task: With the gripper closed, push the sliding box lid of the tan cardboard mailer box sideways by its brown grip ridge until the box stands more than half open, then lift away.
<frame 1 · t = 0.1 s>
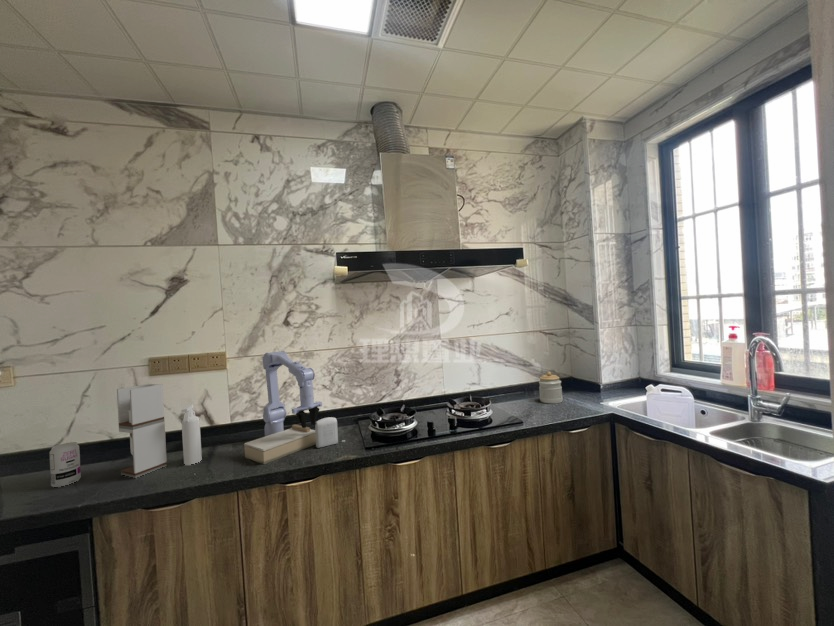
hand: (308, 425, 155), 10 cm above the worktop, tool pointing down, fingers open, 4 cm apart
mailer box: (282, 450, 156), on the worktop
white wood-trimmed shelf: (144, 471, 143), on the worktop
sliding box lid: (281, 435, 156), point 7 cm above the worktop, slide at 0.0 cm
jar: (551, 401, 207), on the worktop
supplement can: (66, 483, 136), on the worktop
fire extinguisher: (193, 462, 150), on the worktop
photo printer: (327, 445, 159), on the worktop, touching gripper
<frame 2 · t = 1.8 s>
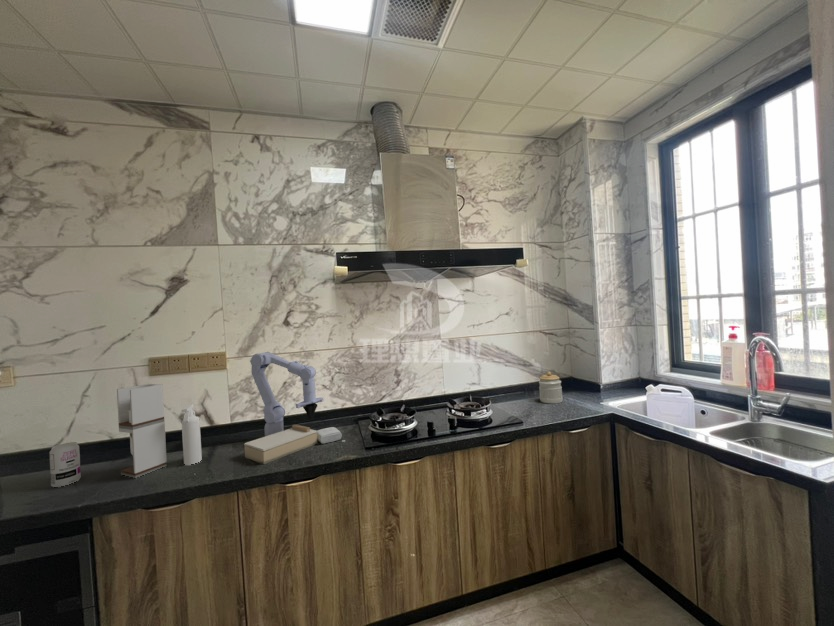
hand: (311, 419, 169), 9 cm above the worktop, tool pointing down, fingers closed
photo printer: (331, 437, 161), point 2 cm above the worktop
everything else where it was.
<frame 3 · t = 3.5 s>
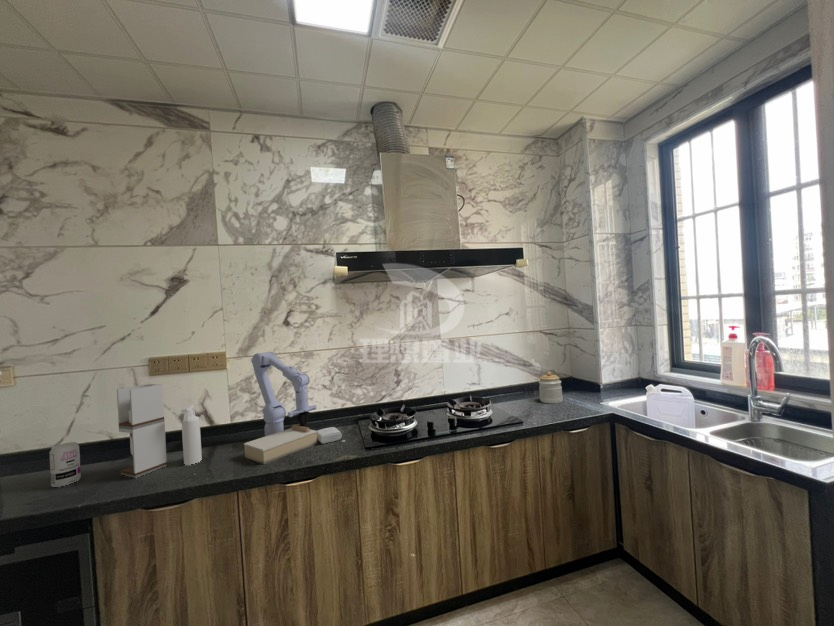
hand: (303, 428, 165), 7 cm above the worktop, tool pointing down, fingers closed
sliding box lid: (281, 435, 156), point 7 cm above the worktop, slide at 0.2 cm, touching gripper
everything else where it was.
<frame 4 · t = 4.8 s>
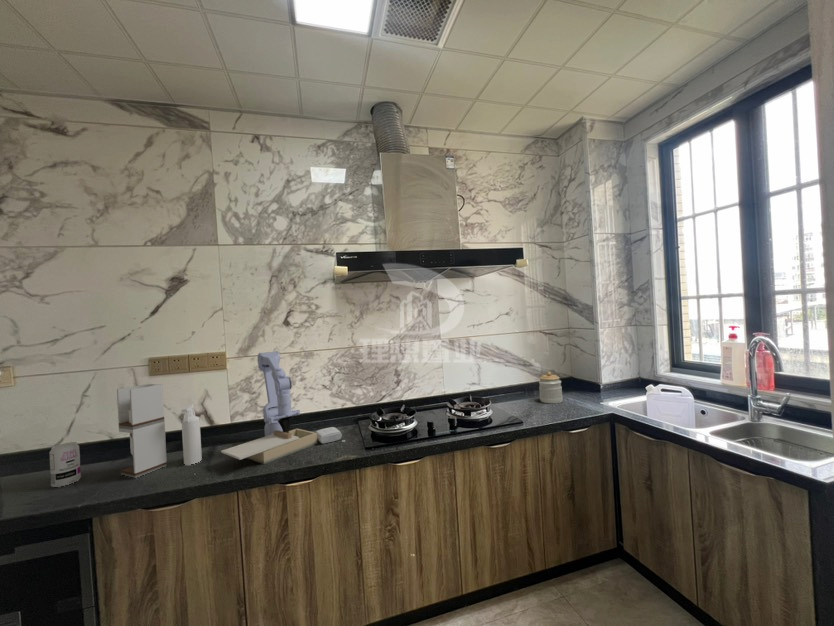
hand: (286, 434, 158), 7 cm above the worktop, tool pointing down, fingers closed
sliding box lid: (261, 442, 148), point 7 cm above the worktop, slide at 9.5 cm, touching gripper
everything else where it was.
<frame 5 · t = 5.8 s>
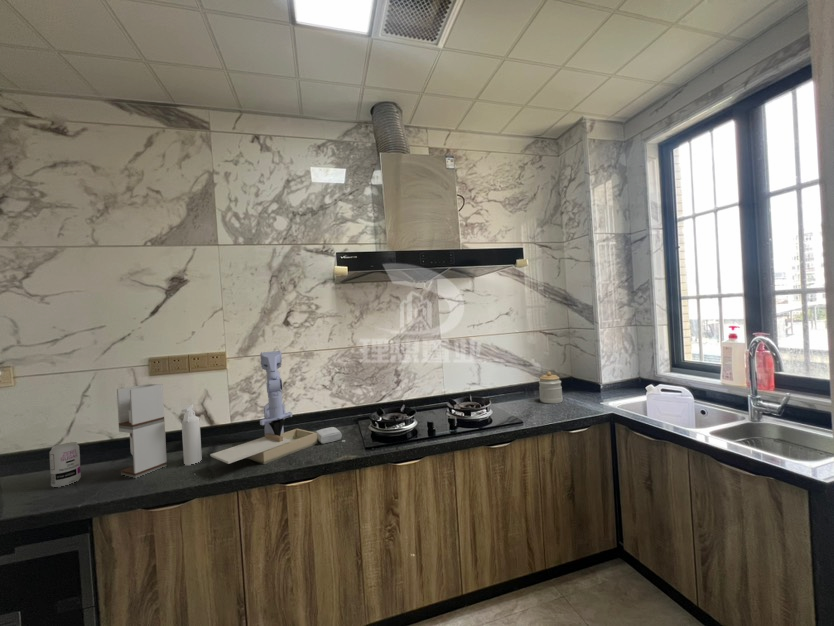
hand: (277, 436, 155), 7 cm above the worktop, tool pointing down, fingers closed
sliding box lid: (251, 445, 145), point 7 cm above the worktop, slide at 13.7 cm, touching gripper
everything else where it was.
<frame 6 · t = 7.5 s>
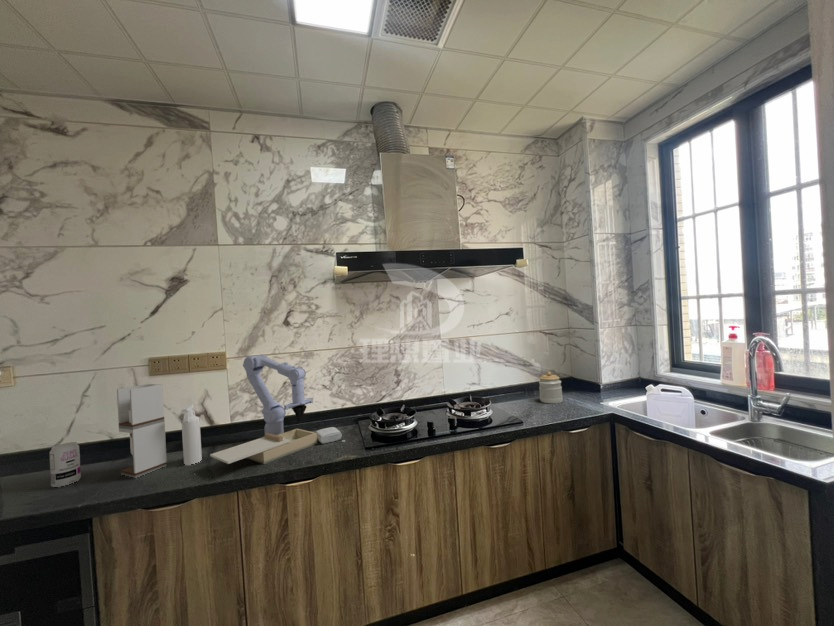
hand: (300, 421, 168), 9 cm above the worktop, tool pointing down, fingers closed
sliding box lid: (251, 445, 145), point 7 cm above the worktop, slide at 13.8 cm
everything else where it was.
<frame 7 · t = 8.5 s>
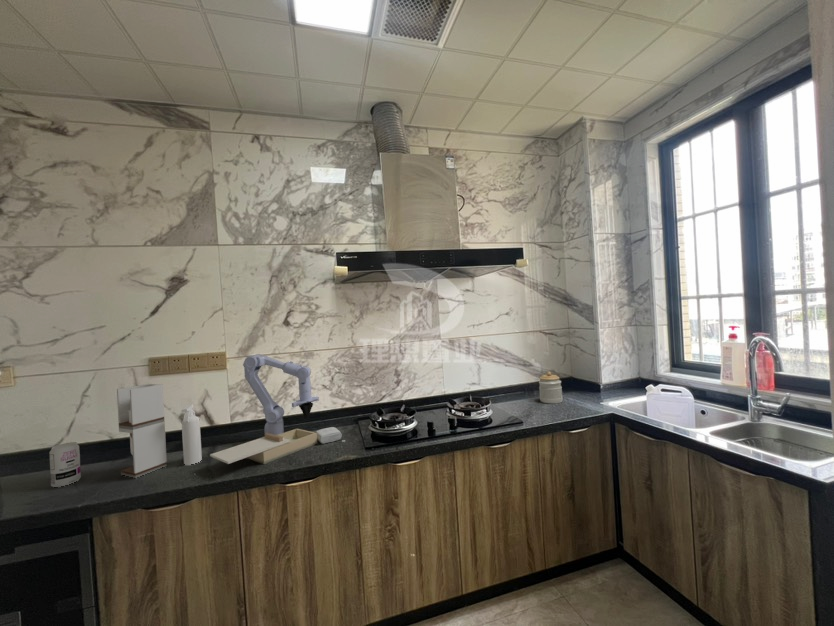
hand: (306, 418, 173), 9 cm above the worktop, tool pointing down, fingers closed
nothing on the worktop moved.
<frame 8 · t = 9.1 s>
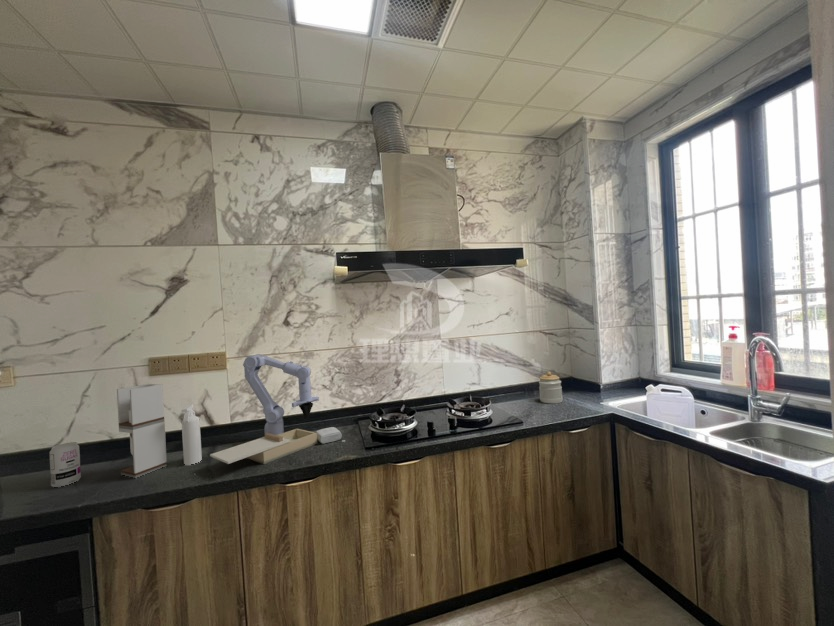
hand: (306, 418, 173), 9 cm above the worktop, tool pointing down, fingers closed
nothing on the worktop moved.
at the end: sliding box lid slide at 13.8 cm; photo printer moved 3.9 cm from its start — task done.
